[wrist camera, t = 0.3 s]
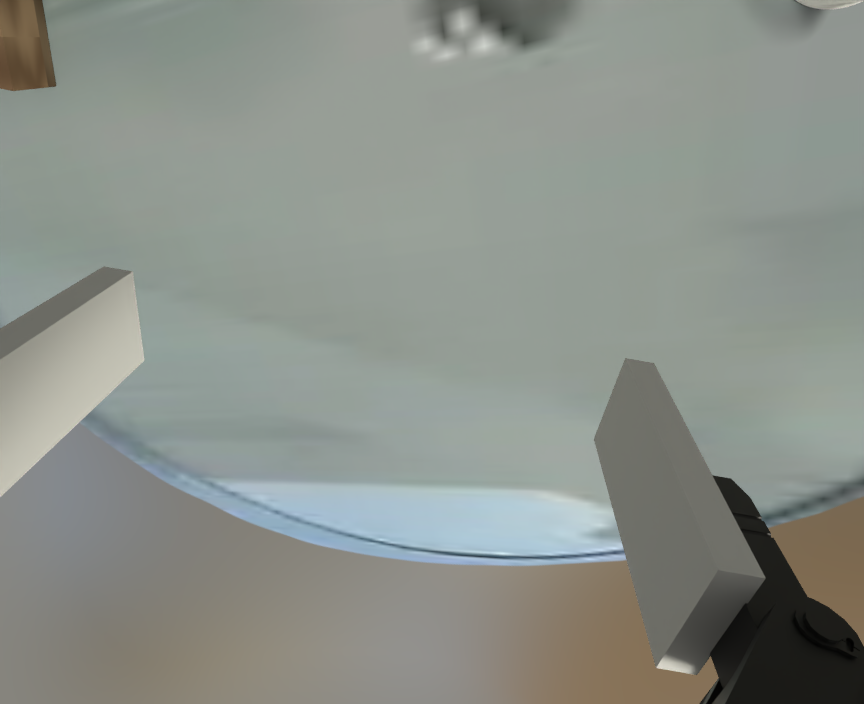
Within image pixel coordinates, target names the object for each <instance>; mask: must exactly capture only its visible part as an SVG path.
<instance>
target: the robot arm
mask: <svg viewBox="0 0 864 704" xmlns="http://www.w3.org/2000/svg"><path fill="white" fill-rule="evenodd" d="M143 361H144V353H143V346H142V338H141V331H140V323H139V316H138V308H137V301H136V293H135V285H134V278H133V272H132V271H126V270H121V269H115V268H109V267H102V268H101V269H99V270H97V271H96V272H94V273H92V274H91V275H89V276H87V277H86V278H84V279H82V280H81V281H79V282H77V283H76V284H74V285H72V286H71V287H69V288H67V289H66V290H64V291H62V292H61V293H59V294H57V295H56V296H54V297H52V298H51V299H49V300H47V301H46V302H44V303H42V304H41V305H39V306H37V307H36V308H34V309H32V310H31V311H29V312H27V313H26V314H24V315H22V316H21V317H19V318H17V319H16V320H14V321H12V322H11V323H9V324H7V325H6V326H4V327H2V328H1V329H0V497H1V496H2V495H3V494H4V493H5V492H6V491H7V490H8V489H9V488H10V487H11V486H13V484H15V483H16V482H17V481H18V480H19V479H20V478H21V477H22V476H23V475H24V474H25V473H26V472H27V471H28V470H29V469H30V468H31V467H33V466H34V464H36V463H37V462H38V461H39V460H40V459H41V458H42V457H43V456H44V455H45V454H46V453H47V452H48V451H49V450H50V449H52V448H53V447H54V446H55V445H56V444H57V443H58V442H59V441H60V440H61V439H62V438H63V437H64V436H65V435H66V434H67V433H68V432H69V431H70V430H71V429H73V427H75V426H76V425H77V424H78V423H79V422H80V421H81V420H82V419H83V418H84V417H85V416H86V415H87V414H88V413H89V412H91V411H92V410H93V409H94V408H95V407H96V406H97V405H98V404H99V403H100V402H101V401H102V400H103V399H104V398H105V397H106V396H107V395H108V394H110V393H111V392H112V391H113V390H114V389H115V388H116V387H117V386H118V385H119V384H120V383H121V382H122V381H123V380H124V379H125V378H126V377H127V376H128V375H130V374H131V373H132V372H133V371H134V370H135V369H136V368H137V367H138V366H139V365H140V364H141V363H142V362H143ZM594 441H595V445H596V449H597V452H598V456H599V460H600V463H601V467H602V471H603V474H604V478H605V482H606V485H607V489H608V493H609V496H610V500H611V504H612V508H613V511H614V515H615V519H616V522H617V526H618V530H619V533H620V537H621V541H622V544H623V548H624V552H625V555H626V559H627V562H628V566H629V570H630V573H631V577H632V581H633V584H634V588H635V592H636V596H637V599H638V603H639V607H640V610H641V614H642V618H643V621H644V625H645V629H646V633H647V636H648V640H649V644H650V647H651V651H652V655H653V658H654V662H655V666H656V668H660V669H666V670H672V671H677V672H683V673H689V674H694V675H697V674H698V673H699V671H700V670H701V668H702V667H703V666H704V665H705V663H706V662H707V660H708V659H709V657H710V656H711V657H712V660H713V663H714V666H715V669H716V671H717V674H718V677H719V679H718V680H717V681H716V682H715V684H714V685H713V687H712V688H711V689H710V690H709V692H708V693H707V694H706V696H705V697H704V699H703V700H702V701H701V703H700V704H864V646H863V644H862V642H861V641H860V639H859V637H858V635H857V633H856V632H855V631H854V630H853V629H852V628H851V627H850V625H849V624H848V623H847V622H846V621H845V620H844V619H843V618H842V617H840V616H839V615H838V614H836V613H835V612H834V611H833V610H831V609H830V608H829V607H827V606H825V605H823V604H821V603H819V602H818V601H815V600H814V599H812V598H809V597H807V595H806V593H805V592H804V590H803V588H802V587H801V585H800V583H799V581H798V580H797V578H796V576H795V575H794V573H793V571H792V569H791V567H790V566H789V564H788V563H787V561H786V559H785V557H784V555H783V554H782V552H781V550H780V548H779V547H778V545H777V543H776V541H775V540H774V538H771V533H770V531H769V529H768V528H767V526H766V524H765V522H764V521H761V518H762V517H761V515H760V514H759V512H758V510H757V509H756V507H755V505H754V503H753V502H752V500H751V498H750V497H749V496H748V495H747V494H746V493H745V492H744V491H743V490H742V489H741V488H740V487H739V486H738V485H737V484H736V483H735V482H734V481H733V480H732V479H730V478H724V477H718V476H713V475H712V474H711V472H710V470H709V468H708V466H707V464H706V462H705V460H704V459H703V457H702V455H701V453H700V451H699V449H698V447H697V445H696V443H695V441H694V439H693V437H692V435H691V434H690V432H689V430H688V428H687V426H686V424H685V422H684V420H683V418H682V416H681V414H680V412H679V410H678V409H677V407H676V405H675V403H674V401H673V399H672V397H671V395H670V393H669V391H668V389H667V387H666V385H665V384H664V382H663V380H662V378H661V376H660V374H659V372H658V370H657V368H656V366H655V364H654V363H650V362H644V361H638V360H632V359H627V358H625V360H624V363H623V366H622V368H621V371H620V373H619V376H618V378H617V381H616V384H615V386H614V389H613V391H612V394H611V396H610V399H609V402H608V404H607V407H606V409H605V412H604V414H603V417H602V420H601V422H600V425H599V427H598V430H597V432H596V435H595V438H594Z"/></svg>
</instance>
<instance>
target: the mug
mask: <svg viewBox="0 0 864 704" xmlns="http://www.w3.org/2000/svg"><path fill="white" fill-rule="evenodd" d="M795 1H797V2H799V3H801V4H803V5H805V6H808V7H811V8H816V9H825V10H829V9H839V8H844V7H848V6H852V5H855V4H858V3H860V2H863V1H864V0H795Z"/></svg>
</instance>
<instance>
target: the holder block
mask: <svg viewBox="0 0 864 704" xmlns="http://www.w3.org/2000/svg"><path fill="white" fill-rule="evenodd" d="M55 86H56V82H55V76H54V70H53V63H52V57H51V51H50V45H49V39H48V33H47V27H46V21H45V15H44V9H43V3H42V0H0V88H1V89H6V90H11V91H17V90H27V89H36V88H45V87H55Z"/></svg>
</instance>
